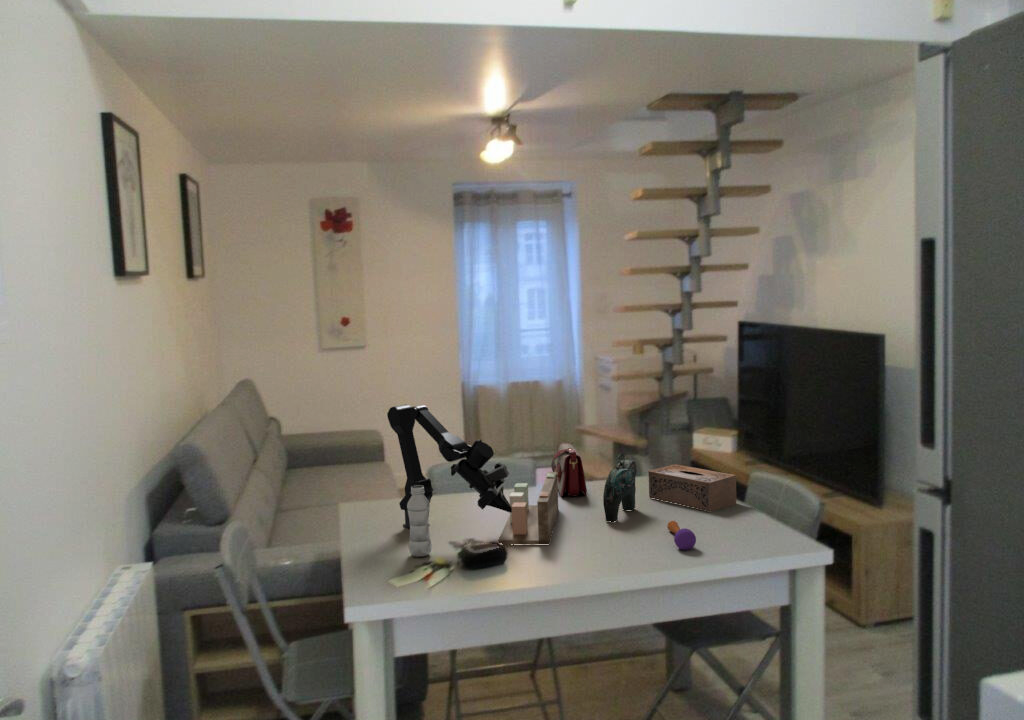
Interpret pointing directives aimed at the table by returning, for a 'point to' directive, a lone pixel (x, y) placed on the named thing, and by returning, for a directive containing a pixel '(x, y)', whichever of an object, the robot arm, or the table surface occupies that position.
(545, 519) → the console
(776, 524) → the table surface
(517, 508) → the pink rectangular block
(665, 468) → the tissue box cover
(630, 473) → the dark green arched piece
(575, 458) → the handbag
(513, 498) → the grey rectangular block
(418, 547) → the plastic bottle
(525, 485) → the pale green block
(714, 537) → the table surface
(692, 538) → the purple maraca
